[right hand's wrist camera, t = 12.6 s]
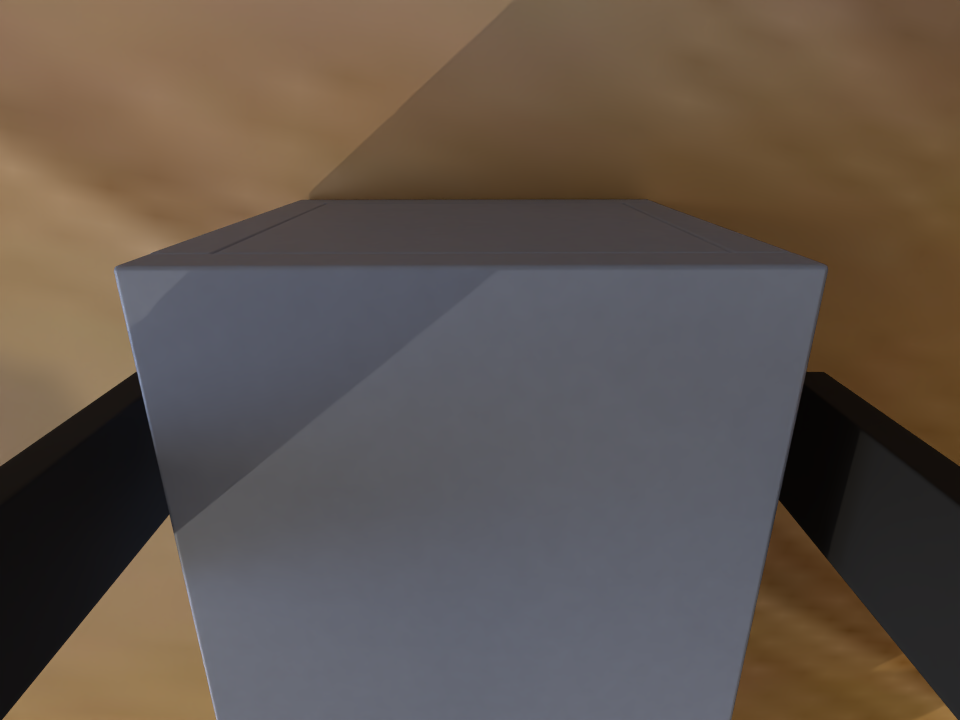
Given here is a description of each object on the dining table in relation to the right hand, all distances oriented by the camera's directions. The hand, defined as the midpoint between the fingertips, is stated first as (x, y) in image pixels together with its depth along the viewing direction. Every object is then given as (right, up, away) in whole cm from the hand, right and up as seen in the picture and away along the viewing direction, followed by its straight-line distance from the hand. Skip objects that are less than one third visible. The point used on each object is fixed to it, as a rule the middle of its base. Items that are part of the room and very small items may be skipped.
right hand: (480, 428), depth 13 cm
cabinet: (0, -2, +8) cm, 8 cm away
